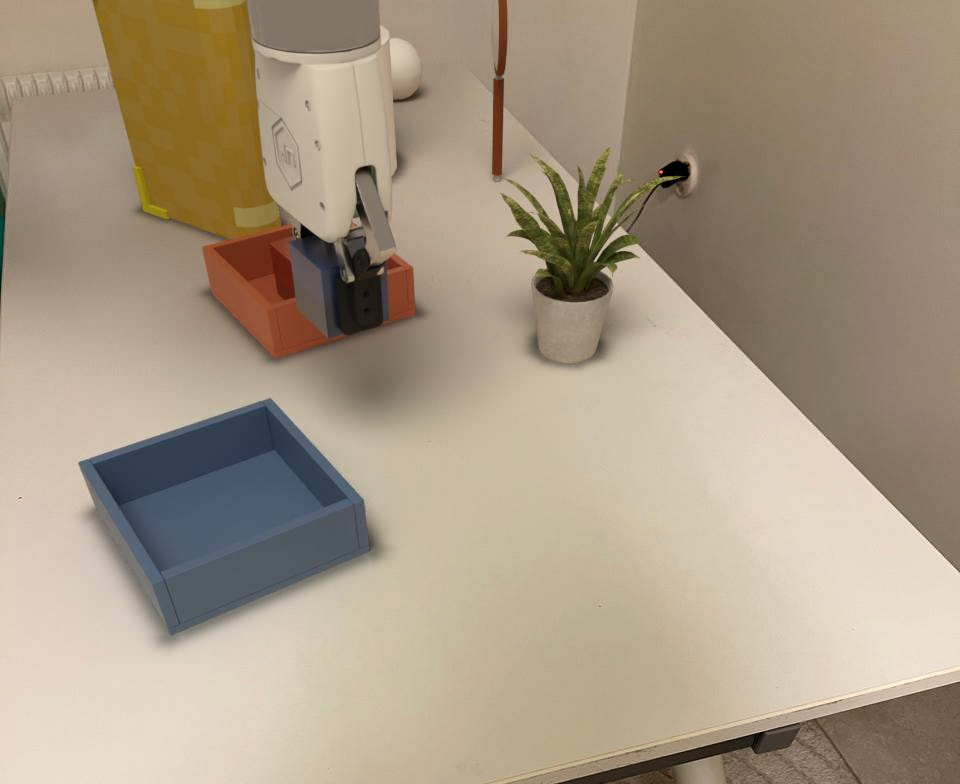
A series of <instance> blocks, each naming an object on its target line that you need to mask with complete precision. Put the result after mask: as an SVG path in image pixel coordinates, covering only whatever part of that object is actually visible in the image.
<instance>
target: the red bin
mask: <svg viewBox="0 0 960 784" xmlns="http://www.w3.org/2000/svg"><path fill="white" fill-rule="evenodd" d="M351 226H352V227H354V226H358V224H356V223H355V222H353V221H352V223H351ZM292 236H293V232H292V223H289V224H285V225H281V226H280V227H277V228H273V229H269V230H265V231H261V232H257V233H253V234H249V235H245V236H242V237H238V238H234V239H226V240H223V241H219V242H215V243H211V244H207V245H203V246H201V251H202V255H203V258H204V263H205V268H206V273H207V277H208V282H209V286H210V290H211V294H212V295H213V296H214V297H215V298H216V299H217V301H219V303H221V304H222V305H223V306H224V307H225V308H226V309H227V311H229V313H230V314H231V315H232V316H233V317H234V318H235V319H236V320H237V321H238V322H239V323H240V324H241V326H243V327H244V328H245V329H246V330H247V331H248V333H250V335H252V336H253V337H254V338H255V340H257V341H258V343H259V344H260V345H261V346H263V347H264V349H265V350H266V351H267V352H268V353H269V354H270V355H271V356H272V357H273V358H274V359H275V360H276V359H280V358H284V357H287V356H289V355H293V354H296V353H299V352H302V351H305V350H307V349H311V348H314V347H319V346H321V345H323V344H328V343H331V342H333V341H336V340H340V339H344V338H346V337H349V336H350V335H345V334H343V335H340V336H337V337H333V338H330V339H328V338H327V337H326V336H325V335H324V334H323V333H322V332H321V331H320V330H319V329H318V328H317V327H316V326H315V325H314V324H312V323H311V322H310V321H309V320H308V319H307V318H306V317H305V316H304V315H303V314H302V313H301V312H300V311H299V310H298V309H297V303H296V297H295V298H291V299H288V300H284V299H283V298H282V297H281V296H280V295H279V294H278V292H277V286H276V280H275V274H274V269H273V263H272V257H271V251H270V245H269V243H270V242H273V241H277V240H281V239H285V238H289V237H292ZM386 262H387V280H388V298H389V316H390V320H389V321H386V322H383V323H382V324H381V325H380V326H385V325H387V324H391V323H393V322H396V321H399V320H403V319H406V318H409V317H413V316H415V315H417V314H416V296H415V295H416V294H415V276H414V266H412V265H411V264H410V263H408V262H407V261H405V260H404V259H403V258H402V257H400V256H399V255H397V254H396V252H395V253H394V254H393V255H392V256H391V257H390V258H388V259H387V261H386ZM380 326H379V327H380ZM362 332H363V331H361V332H358V333H355V334H352V335H351V336H353V335H356V334H359V333H362Z"/></svg>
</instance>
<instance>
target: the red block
mask: <svg viewBox="0 0 960 784" xmlns="http://www.w3.org/2000/svg"><path fill="white" fill-rule="evenodd" d="M294 240H295V238H294V236H292V237H289V238H285V239H281V240H277V241H273V242H270V243H269V245H270V251H271V257H272V263H273V269H274V274H275V280H276V286H277V292H278V294H279V295H280V296H281V297H282V298H283V299H284V300H288V299H291V298H295V297H296V295H295V288H294V281H293V273H292V266H291V258H290V251H289V244H288V242H290V241H294Z"/></svg>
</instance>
